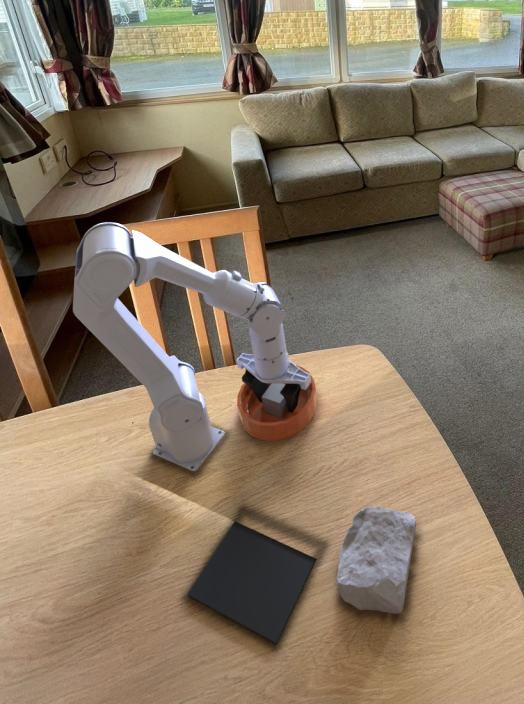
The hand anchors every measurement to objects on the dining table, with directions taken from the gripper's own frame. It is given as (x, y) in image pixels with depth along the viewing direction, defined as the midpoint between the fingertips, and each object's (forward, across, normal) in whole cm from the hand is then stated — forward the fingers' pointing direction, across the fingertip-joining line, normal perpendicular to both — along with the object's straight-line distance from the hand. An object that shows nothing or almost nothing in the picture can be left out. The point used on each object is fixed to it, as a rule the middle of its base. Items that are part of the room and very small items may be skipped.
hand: (278, 403), depth 91 cm
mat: (+2, -12, +24) cm, 27 cm away
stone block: (+2, -27, +17) cm, 32 cm away
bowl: (+2, 0, 0) cm, 2 cm away
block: (+1, 0, 0) cm, 1 cm away
